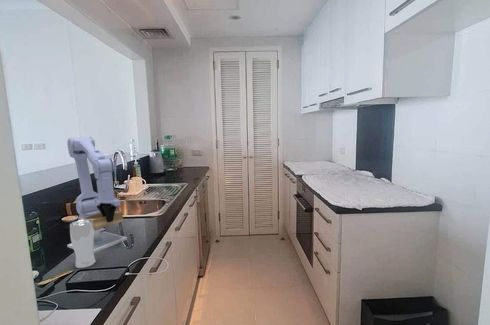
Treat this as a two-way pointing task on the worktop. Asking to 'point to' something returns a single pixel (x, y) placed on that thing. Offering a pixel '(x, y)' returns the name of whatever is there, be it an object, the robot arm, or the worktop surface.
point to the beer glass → (83, 242)
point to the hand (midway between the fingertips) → (108, 221)
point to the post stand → (104, 240)
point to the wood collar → (103, 220)
